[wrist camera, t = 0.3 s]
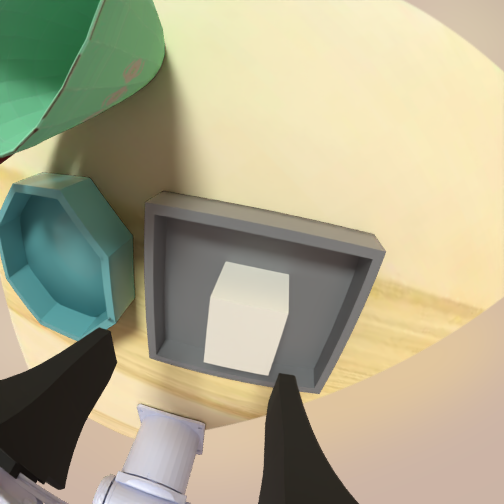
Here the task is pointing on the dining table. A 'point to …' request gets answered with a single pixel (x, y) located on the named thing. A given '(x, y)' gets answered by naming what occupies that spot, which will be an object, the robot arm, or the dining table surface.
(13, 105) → the mug
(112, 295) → the bowl
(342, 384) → the dining table surface
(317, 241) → the parts tray
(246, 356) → the off-white smooth cube
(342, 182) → the dining table surface
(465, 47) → the dining table surface
